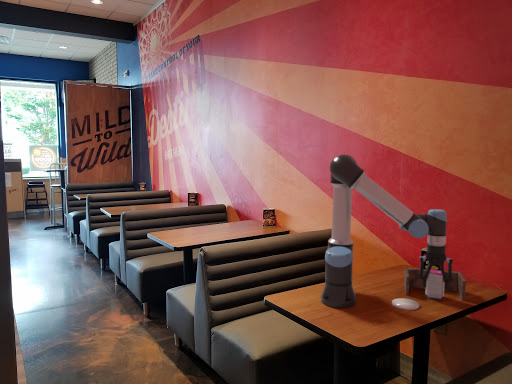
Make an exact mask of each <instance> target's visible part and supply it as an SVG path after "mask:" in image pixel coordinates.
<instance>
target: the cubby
mask: <svg viewBox="0 0 512 384" xmlns="http://www.w3.org/2000/svg"><path fill="white" fill-rule="evenodd" d="M433 270H434V271H438V269H437V270H435V269H433ZM419 271H420V268H408V267H407V268H406V267H404V274H403V275H404V278H403V279H404V282H403V283H404V285H403V287H404V293H405V296H407V297H408V296H409V294H410V293H409V292H410V291H409V290H410V289H409V288H413V287H414V288H415V289H425V290H426V287H424V286H423V279H420V278H419ZM444 271H445V274H446V278H448V270H444ZM425 272H426V269H424V268H423V276H424V274H425ZM427 279H428V278H427ZM442 281H444V279H442ZM466 285H467V280H466V279H465V278H464V276H463V274H462V273H461V271H452V281H448V282H447V289H444V291H451V292H457V294H458V296H459V298H460V300H461V301H464V302H465V301H466V289H467V288H466ZM414 288H413V289H414Z"/></svg>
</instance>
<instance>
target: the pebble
mask: <svg viewBox="0 0 512 384" xmlns="http://www.w3.org/2000/svg"><path fill="white" fill-rule="evenodd" d="M391 305H392V306H393V307H395V308H397V309H400V310H407V311H414V310H418V309H420V303H419V302H418V301H416V300H413V299H410V298H394V299H392V301H391Z"/></svg>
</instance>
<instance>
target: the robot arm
mask: <svg viewBox="0 0 512 384" xmlns="http://www.w3.org/2000/svg"><path fill="white" fill-rule="evenodd" d="M329 172H330V185H331V186H332V187H333V188H332V189H333V192H332V215H331V217H332V218H331V219H332V220H331V237H330V238H329V239H328V241H327V249H326V251H325V255H324V259H325V262H324V263H325V266H324V267H325V268H324V269H325V271H324V273H325V274H324V275H325V276H324V277H325V278H324V279H325V280H324V281H325V283H324V287H323V290H322V292H321V295H320V298H321V299H320V301H321V303H322V304H324V305H325V306H328V307H331V308H338V309H341V308H343V309H346V308H351V307H353V306H355V305H356V304H357V297H356V293H355V290H354V286H353V262H354V261H353V260H354V241H353V240H352V239H351V229H352V207H353V206H352V205H353V203H352V201H353V189H354V190H355V191H357V192H358V193H359V194H360V195H362V196H363V197H364V198H365V199H367V200H368V201H369V202H370V203H372V204H373V205H374V206H375V207H377V208H378V209H379V210H380V211H381V212H383V213H384V214H385V215H386V216H388V217H389V218H390V219H392V220H393V221H394V222H396V224H398V226H399V229H400V230H401V231H405V232H406V231H407V232H408V233H409V234H410V236H412V237H413V238H416V239H422V238H424V237H426V236H427V238H426V239H427V240H426V242H427V245H426V254H425V255H423V256H421V255H420V256H419V260H420V263H419V269H420V271H419V278H420V279H423V286H424V287H426V289H425V295H426V296H427V295H428V279H427V278H428V275H429V273H430V270H432V268H433V266H439V269H440V271H441V273H442V275H443V279H444V281H442V298H443V297H445V290H444V289H447V282H448V281H452V272H453V269H452V268H453V267H452V264H453V262H454V260H453V258H452V257H447V255H446V253H447V252H446V251H447V249H446V248H447V246H446V244H447V223H448V219H447V218H448V216H447V215H448V213H447V212H446V210H445V209H439V208H438V209H436V208H434V209H429V210H428V212H427V213H414V211H412V210H411V209H410V208H408V207H407V206H406V205H404V204H403V203H402V202H401V201H400V200H398V199H397V198H396V197H394V196H393V195H392V194H391V193H389V192H388V191H387V190H385V189H384V188H383V187H382V186H380V185H379V184H378V183H377V182H376V181H374V180H373V179H371V178H370V177H369V176H367V174H366V171H365V170H364V169H363V168H361V166H360V165H359V164H358V163H357V161H356V160H355V158H354V157H353V156H351V155H349V154H338V155H337V156H335V157H334V158H332V160H331V161H330V164H329ZM426 260H427V261H428V264H427V267H426V269H425V270H426V272H425V274H424V276H423V269H424V266H425V262H426ZM445 262H446V263H447V271H448V278H446V274H445V271H446V270H445V267H444V265H443V264H444V263H445Z"/></svg>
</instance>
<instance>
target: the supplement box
mask: <svg viewBox="0 0 512 384" xmlns="http://www.w3.org/2000/svg"><path fill="white" fill-rule="evenodd" d="M434 270H435V269H431V270H430V273H429V275H428V295H426V296H427V299H431V300H432V299H433V300H442V298H443V297H442V279H443V275H442V273H441V270H437V271H434Z"/></svg>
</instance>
